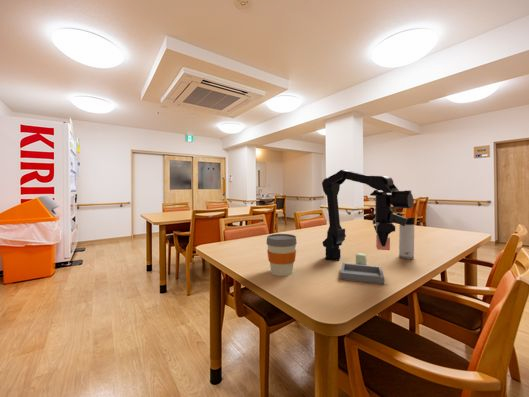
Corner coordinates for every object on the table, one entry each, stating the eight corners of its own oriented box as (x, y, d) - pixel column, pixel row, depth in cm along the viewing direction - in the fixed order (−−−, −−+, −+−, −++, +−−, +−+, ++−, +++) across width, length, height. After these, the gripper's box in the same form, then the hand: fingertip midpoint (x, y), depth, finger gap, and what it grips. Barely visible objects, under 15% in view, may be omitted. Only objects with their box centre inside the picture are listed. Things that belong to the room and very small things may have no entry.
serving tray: (340, 279, 91) (340, 272, 90) (342, 268, 102) (342, 263, 102) (384, 284, 85) (384, 277, 85) (381, 273, 96) (381, 266, 96)
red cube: (377, 249, 96) (377, 237, 96) (376, 246, 100) (376, 235, 100) (389, 250, 94) (390, 238, 94) (388, 247, 99) (388, 235, 98)
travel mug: (409, 260, 112) (410, 218, 111) (396, 256, 118) (396, 216, 117) (417, 258, 115) (418, 217, 114) (404, 254, 121) (404, 215, 120)
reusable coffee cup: (262, 269, 102) (261, 235, 102) (287, 265, 107) (287, 232, 107) (274, 279, 91) (274, 241, 90) (302, 274, 96) (302, 238, 95)
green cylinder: (355, 266, 104) (355, 255, 104) (355, 263, 108) (355, 253, 108) (366, 268, 103) (366, 256, 102) (366, 264, 107) (366, 253, 106)
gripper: (411, 209, 85) (410, 252, 86) (400, 205, 102) (400, 241, 103) (377, 209, 89) (376, 250, 89) (372, 205, 106) (372, 239, 107)
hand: (382, 244), depth 97 cm, fingers closed on red cube, 4 cm apart
